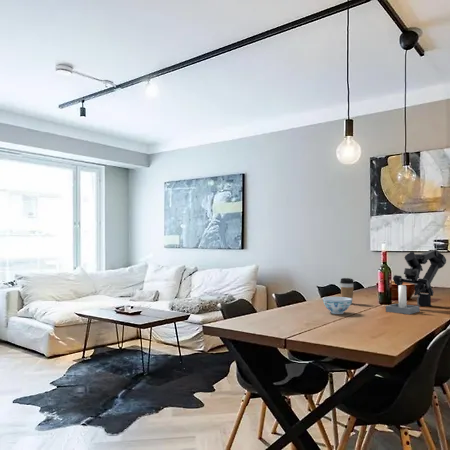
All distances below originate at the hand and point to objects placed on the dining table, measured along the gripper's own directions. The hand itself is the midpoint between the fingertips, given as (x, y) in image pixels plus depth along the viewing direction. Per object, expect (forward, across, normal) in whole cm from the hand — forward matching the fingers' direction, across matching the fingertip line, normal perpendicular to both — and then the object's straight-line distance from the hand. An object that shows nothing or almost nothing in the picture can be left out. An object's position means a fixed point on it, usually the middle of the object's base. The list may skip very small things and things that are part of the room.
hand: (406, 293), depth 249 cm
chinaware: (+32, -22, -20) cm, 44 cm away
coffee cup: (+9, -35, +8) cm, 37 cm away
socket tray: (+12, +2, 0) cm, 12 cm away
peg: (+12, +2, 0) cm, 12 cm away
